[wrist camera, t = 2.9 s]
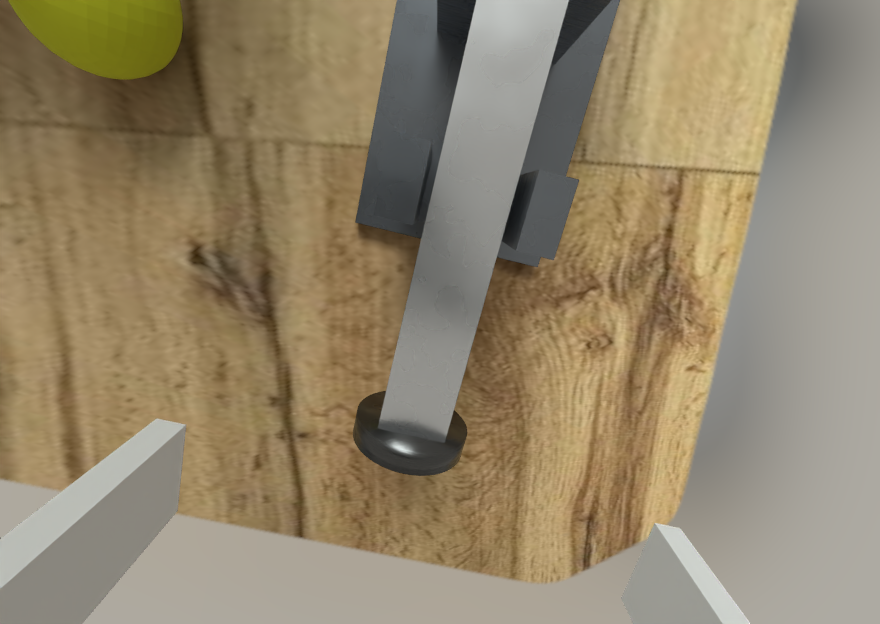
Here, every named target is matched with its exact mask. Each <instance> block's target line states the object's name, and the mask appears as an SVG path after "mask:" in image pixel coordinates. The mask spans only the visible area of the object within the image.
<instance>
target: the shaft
mask: <svg viewBox="0 0 880 624" xmlns="http://www.w3.org/2000/svg"><path fill="white" fill-rule="evenodd" d="M568 2H569V0H476V4H475V8H474V13H473V17H472V21H471V26H470V30H469V34H468V39H467V43H466V47H465V52H464V56H463V60H462V65H461V69H460V73H459V78H458V82H457V86H456V91H455V95H454V99H453V104H452V108H451V112H450V117H449V121H448V125H447V130H446V134H445V138H444V143H443V147H442V151H441V156H440V160H439V164H438V169H437V173H436V177H435V182H434V186H433V190H432V195H431V199H430V203H429V208H428V212H427V216H426V221H425V225H424V229H423V234H422V238H421V242H420V247H419V251H418V255H417V260H416V264H415V268H414V273H413V277H412V281H411V286H410V290H409V294H408V299H407V303H406V307H405V312H404V316H403V320H402V325H401V329H400V333H399V338H398V342H397V347H396V351H395V355H394V360H393V364H392V368H391V373H390V377H389V381H388V386H387V390H386V391H383V392H378V393H374V394H372V395H369V396H368V397H366V398H365V399H363V400H362V401H361V403H360V404H359V406H358V410H357V415H356V419H355V424H354V429H353V438H354V441H355V443H356V445H357V447H358V448H359V450H360V451H361V452H362V453H363V454H364V455H365V456H366V457H368V458H369V459H370V460H372V461H373V462H375V463H377V464H378V465H380V466H382V467H384V468H387V469H389V470H392V471H395V472H399V473H403V474H409V475H418V476H425V475H435V474H439V473H443V472H445V471H447V470H449V469H451V468H452V467H454V466H455V465H456V464H457V463H458V461H459V459H460V457H461V453H462V450H463V446H464V443H465V440H466V436H467V427H466V424H465V422H464V421H463V419H462V418H461V417H460V415H459V414H458V413H456V412H455V411H454V408H455V404H456V401H457V397H458V393H459V390H460V386H461V383H462V379H463V376H464V372H465V369H466V365H467V361H468V358H469V354H470V351H471V347H472V344H473V340H474V336H475V333H476V329H477V326H478V322H479V319H480V315H481V312H482V308H483V304H484V301H485V297H486V294H487V290H488V287H489V283H490V279H491V276H492V272H493V269H494V265H495V262H496V258H497V255H498V251H499V247H500V244H501V240H502V237H503V233H504V230H505V226H506V222H507V219H508V215H509V212H510V208H511V205H512V201H513V198H514V194H515V190H516V187H517V183H518V180H519V176H520V173H521V169H522V165H523V162H524V158H525V155H526V151H527V148H528V144H529V141H530V137H531V133H532V130H533V126H534V123H535V119H536V116H537V112H538V108H539V105H540V101H541V98H542V94H543V91H544V87H545V84H546V80H547V76H548V73H549V69H550V66H551V62H552V59H553V55H554V51H555V48H556V44H557V41H558V37H559V34H560V30H561V27H562V23H563V19H564V16H565V12H566V9H567V5H568Z"/></svg>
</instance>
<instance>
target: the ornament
mask: <svg viewBox="0 0 880 624" xmlns="http://www.w3.org/2000/svg"><path fill="white" fill-rule="evenodd" d="M8 1H9V3H10V4H11V6H12V8H13V9H14V11H15V12H16V14H17V15H18V17H19V18H20V20H21V21H22V22H23V23H24V25H25V26H26V27H27V28H28V30H29V31H30V32H31V33H32V34H33V35H34V36H35V37H36V38H37V39H38V40H39V41H40V42H41V43H43V44H44V45H45V46H46V47H47V48H48V49H49V50H50V51H52V52H53V53H55V54H56V55H58V56H59V57H61V58H63V59H64V60H66V61H67V62H69V63H70V64H72V65H73V66H75V67H78V68H80V69H82V70H85V71H87V72H90V73H92V74H95V75H97V76H102V77H107V78H112V79H136V78H141V77H146V76H149V75H152V74H154V73H156V72H158V71H159V70H161V69H163V68H164V67H165V66H167V65H168V63H169V62H170V61H171V60H172V59H173V57H174V55H175V54H176V52H177V50H178V47H179V45H180V42H181V38H182V31H183V16H182V10H181V3H180V0H8Z"/></svg>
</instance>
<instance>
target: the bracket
mask: <svg viewBox="0 0 880 624" xmlns="http://www.w3.org/2000/svg"><path fill="white" fill-rule="evenodd" d="M619 2H620V0H569V2H568V5H567V9H566V12H565V16H564V19H563V23H562V27H561V30H560V34H559V37H558V41H557V44H556V48H555V51H554V55H553V59H552V62H551V66H550V69H549V73H548V76H547V80H546V84H545V87H544V91H543V94H542V98H541V101H540V105H539V108H538V112H537V116H536V119H535V123H534V126H533V130H532V133H531V137H530V141H529V144H528V148H527V151H526V155H525V158H524V162H523V165H522V169H521V173H520V176H519V180H518V183H517V187H516V190H515V194H514V198H513V201H512V205H511V208H510V212H509V215H508V219H507V222H506V226H505V230H504V233H503V237H502V240H501V244H500V247H499V251H498V255H497V257H498V258H502V259H506V260H510V261H514V262H519V263H523V264H527V265H531V266H535V267H538V264H539V261H540V258H541V257H543V258H547V259H551V260H554V258H555V254H556V251H557V248H558V245H559V242H560V239H561V235H562V232H563V229H564V226H565V223H566V220H567V217H568V213H569V210H570V207H571V204H572V201H573V198H574V194H575V191H576V188H577V185H578V182H579V180H577V179H574V178H570V177H566V174H567V170H568V167H569V164H570V161H571V157H572V154H573V151H574V148H575V144H576V141H577V138H578V135H579V131H580V128H581V125H582V122H583V118H584V115H585V112H586V109H587V105H588V102H589V99H590V96H591V92H592V89H593V86H594V83H595V80H596V76H597V73H598V70H599V67H600V63H601V60H602V57H603V54H604V50H605V47H606V44H607V41H608V37H609V34H610V31H611V28H612V24H613V21H614V18H615V15H616V11H617V8H618V5H619ZM475 4H476V0H397V3H396V8H395V14H394V19H393V24H392V30H391V35H390V40H389V46H388V51H387V56H386V62H385V67H384V72H383V78H382V83H381V88H380V94H379V99H378V104H377V110H376V115H375V120H374V126H373V131H372V136H371V142H370V147H369V152H368V158H367V163H366V168H365V174H364V179H363V184H362V190H361V195H360V200H359V206H358V211H357V216H356V223H360V224H364V225H368V226H372V227H376V228H380V229H384V230H389V231H393V232H397V233H401V234H405V235H409V236H413V237H417V238H422V234H423V229H424V225H425V221H426V216H427V212H428V208H429V203H430V199H431V195H432V190H433V186H434V182H435V177H436V173H437V169H438V164H439V160H440V156H441V151H442V147H443V143H444V138H445V134H446V130H447V125H448V121H449V117H450V112H451V108H452V104H453V99H454V95H455V91H456V86H457V82H458V78H459V73H460V69H461V65H462V60H463V56H464V52H465V47H466V43H467V39H468V34H469V30H470V26H471V21H472V17H473V13H474V8H475Z"/></svg>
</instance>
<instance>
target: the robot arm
mask: <svg viewBox="0 0 880 624" xmlns="http://www.w3.org/2000/svg"><path fill="white" fill-rule="evenodd" d="M185 431H186V425H185V424H180V423H175V422H171V421H166V420H161V419H155V420H154V421H153V422H151V423H150V424H149V425H148V426H146V427H145V428H144V429H142V430H141V431H140V432H138V433H137V434H136V435H135V436H133V437H132V438H131V439H129V440H128V441H127V442H125V443H124V444H123V445H122V446H120V447H119V448H118V449H116V450H115V451H114V452H112V453H111V454H110V455H108V456H107V457H106V458H105V459H103V460H102V461H101V462H99V463H98V464H97V465H95V466H94V467H93V468H92V469H90V470H89V471H88V472H86V473H85V474H84V475H82V476H81V477H80V478H79V479H77V480H76V481H75V482H73V483H72V484H71V485H69V486H68V487H67V488H66V489H64V490H63V491H62V492H60V493H59V494H58V495H56V496H55V497H54V498H52V499H51V500H50V501H49V502H47V503H46V504H45V505H44V506H42V507H41V508H40V509H38V510H37V511H36V512H35V513H33V514H32V515H30V516H29V517H28V518H26V519H25V520H24V521H23V522H21V523H20V524H19V525H17V526H16V527H15V528H13V529H12V530H11V531H10V532H8V533H7V534H6V535H5V536H3V537H2V538H0V624H82V623H83V622H84V621H85V620H86V619H87V617H88V616H89V615H90V614H91V613H92V612H93V610H94V609H95V608H96V607H97V606H98V604H99V603H100V602H101V601H102V600H103V599H104V597H105V596H106V595H107V594H108V592H109V591H110V590H111V589H112V588H113V587H114V586H115V584H116V583H117V582H118V581H119V580H120V578H121V577H122V576H123V575H124V574H125V572H126V571H127V570H128V569H129V568H130V566H131V565H132V564H133V563H134V562H135V561H136V559H137V558H138V557H139V556H140V555H141V553H142V552H143V551H144V550H145V549H146V548H147V546H148V545H149V544H150V543H151V542H152V540H153V539H154V538H155V537H156V536H157V535H158V533H159V532H160V531H161V530H162V529H163V528H164V526H165V525H166V524H167V523H168V522H169V520H170V519H171V518H172V517H173V516H174V515H175V513H176V512H177V511H178V501H179V491H180V481H181V471H182V461H183V451H184V441H185ZM621 599H622V601H623V603H624V605H625V607H626V610H627V612H628V614H629V616H630V618H631V620H632V622H633V624H751V623H750V622H749V621H748V620H747V618H746V617H745V615H744V614H743V613H742V611H741V610H740V609H739V607H738V606H737V605H736V603H735V602H734V601H733V599H732V598H731V596H730V595H729V594H728V593H727V591H726V590H725V588H724V587H723V586H722V584H721V583H720V582H719V580H718V579H717V577H716V576H715V575H714V574H713V572H712V571H711V569H710V568H709V567H708V565H707V564H706V563H705V562H704V560H703V559H702V557H701V556H700V555H699V553H698V552H697V551H696V549H695V548H694V546H693V545H692V544H691V542H690V541H689V540H688V538H687V537H686V536H685V534H684V533H683V532H682V530H681V529H680V528H676V527H671V526H667V525H662V524H657V523H655V524H654V526H653V528H652V530H651V533H650V535H649V537H648V539H647V542H646V544H645V546H644V548H643V550H642V553H641V555H640V557H639V559H638V562H637V564H636V566H635V568H634V571H633V573H632V575H631V577H630V579H629V582H628V584H627V586H626V588H625V591H624V593H623V595H622V597H621Z"/></svg>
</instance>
